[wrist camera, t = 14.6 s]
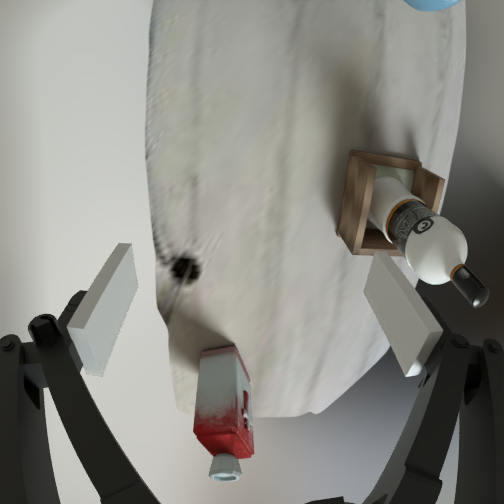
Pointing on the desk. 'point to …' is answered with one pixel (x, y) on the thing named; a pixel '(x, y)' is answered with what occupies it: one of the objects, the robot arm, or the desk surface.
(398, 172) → the wooden box
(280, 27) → the desk surface
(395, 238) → the vodka
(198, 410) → the bottle
